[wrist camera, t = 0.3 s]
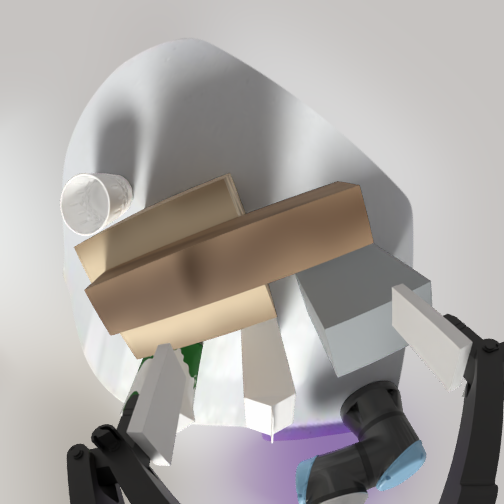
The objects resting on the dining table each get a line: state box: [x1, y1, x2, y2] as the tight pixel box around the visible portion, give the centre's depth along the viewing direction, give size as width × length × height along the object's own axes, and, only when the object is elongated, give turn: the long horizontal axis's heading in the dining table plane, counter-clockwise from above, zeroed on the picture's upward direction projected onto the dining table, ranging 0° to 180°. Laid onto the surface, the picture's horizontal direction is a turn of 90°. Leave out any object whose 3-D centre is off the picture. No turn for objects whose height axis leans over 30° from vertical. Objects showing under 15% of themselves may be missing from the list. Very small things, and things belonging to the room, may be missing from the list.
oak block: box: [74, 173, 277, 359], centre depth 32 cm, size 12×14×21 cm
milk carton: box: [120, 343, 203, 434], centre depth 39 cm, size 9×9×20 cm
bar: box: [85, 181, 374, 335], centre depth 20 cm, size 4×20×4 cm, turn 110°
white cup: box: [60, 173, 133, 235], centre depth 35 cm, size 8×8×10 cm
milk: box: [241, 318, 296, 443], centre depth 37 cm, size 6×6×22 cm
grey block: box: [295, 243, 432, 377], centre depth 38 cm, size 8×14×17 cm, turn 110°
